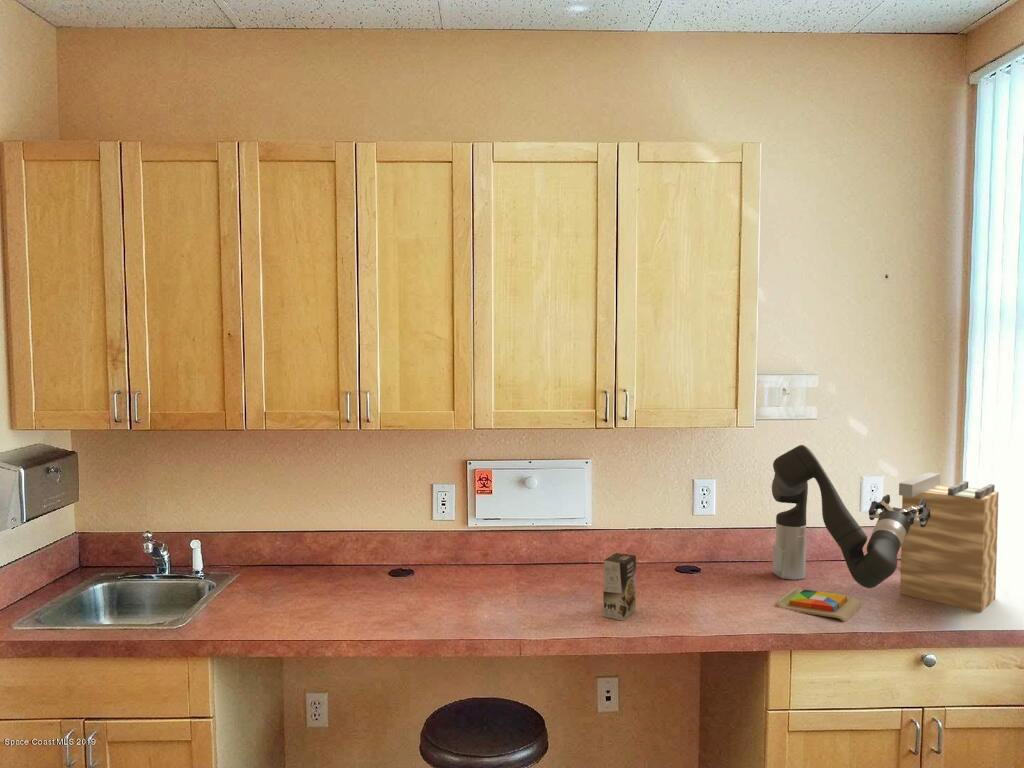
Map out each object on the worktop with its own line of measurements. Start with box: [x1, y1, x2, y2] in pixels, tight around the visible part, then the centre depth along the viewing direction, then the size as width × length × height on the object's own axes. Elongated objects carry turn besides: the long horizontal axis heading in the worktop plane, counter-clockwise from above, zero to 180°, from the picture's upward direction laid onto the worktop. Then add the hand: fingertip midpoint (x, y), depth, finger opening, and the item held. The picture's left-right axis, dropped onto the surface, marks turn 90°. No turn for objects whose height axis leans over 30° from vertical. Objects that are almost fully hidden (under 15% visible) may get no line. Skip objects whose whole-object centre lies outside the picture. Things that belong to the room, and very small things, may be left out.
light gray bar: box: [898, 471, 941, 497], centre depth 212 cm, size 26×4×4 cm, turn 134°
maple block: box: [899, 480, 999, 613], centre depth 212 cm, size 16×21×34 cm
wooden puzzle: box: [776, 587, 863, 623], centre depth 205 cm, size 18×19×4 cm
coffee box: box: [602, 552, 637, 622], centre depth 198 cm, size 9×6×16 cm
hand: (905, 499), depth 197 cm, fingers open, 8 cm apart
